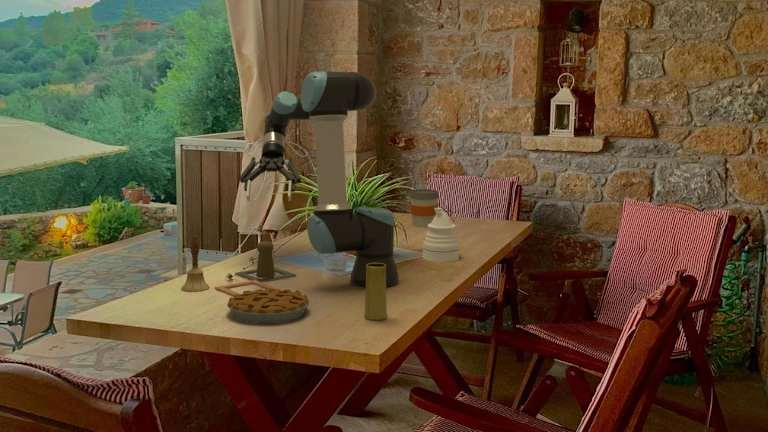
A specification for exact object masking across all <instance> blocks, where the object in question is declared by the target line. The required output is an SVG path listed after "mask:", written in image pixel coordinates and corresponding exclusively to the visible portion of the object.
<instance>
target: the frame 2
mask: <svg viewBox="0 0 768 432" xmlns="http://www.w3.org/2000/svg"><path fill="white" fill-rule="evenodd" d="M274 271H275V273H277V274H280V275H275V276H274V277H269V278H260V277H257V276H253V275H251V274H256V273H257V268H256V269H255V268H254V269H250V270H249V269H248V270H244V271H237V272H235V273H234V274H235V276H238V277H241V278H243V279H246V280H248V281H252V280H257V281H259V282H262V283H268V282H272V281H278V280H284V279H289V278H294V277H297V274H295V273H293V272H290V271H287V270H285V269H280V268H278V267H275V266H274Z"/></svg>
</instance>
